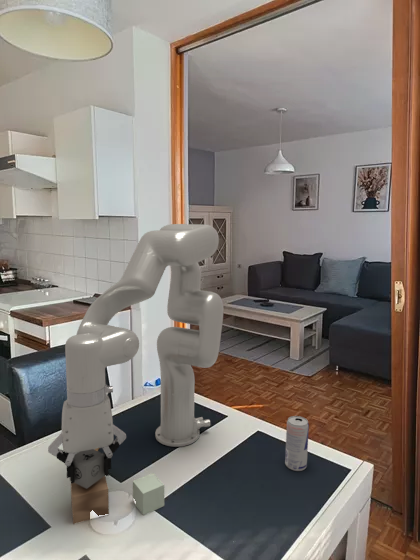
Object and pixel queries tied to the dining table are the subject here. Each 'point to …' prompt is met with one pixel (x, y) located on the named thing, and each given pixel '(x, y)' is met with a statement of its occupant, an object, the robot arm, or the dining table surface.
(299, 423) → the energy drink
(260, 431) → the dining table surface
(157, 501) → the sage block
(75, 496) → the walnut block
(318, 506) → the dining table surface
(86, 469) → the dice cube
